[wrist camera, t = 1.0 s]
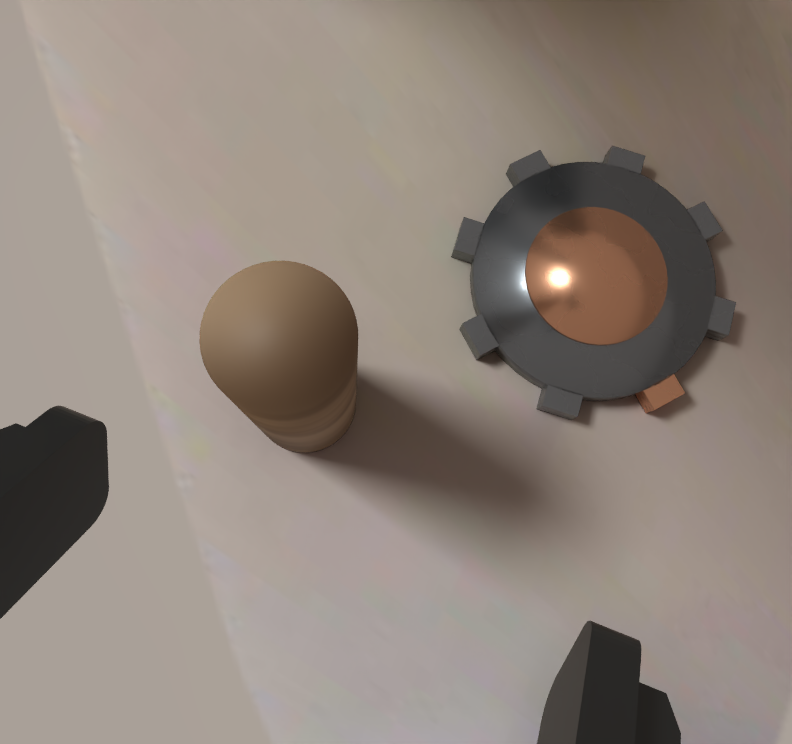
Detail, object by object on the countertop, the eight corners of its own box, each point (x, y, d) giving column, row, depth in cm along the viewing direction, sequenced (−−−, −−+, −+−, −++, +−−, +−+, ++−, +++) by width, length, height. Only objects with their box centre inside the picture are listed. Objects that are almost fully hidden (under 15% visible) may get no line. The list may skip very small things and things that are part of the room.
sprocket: (401, 223, 35) (402, 213, 33) (633, 112, 36) (643, 99, 35) (538, 472, 33) (545, 470, 32) (776, 341, 34) (791, 335, 33)
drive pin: (237, 380, 33) (173, 302, 21) (327, 335, 33) (314, 235, 22) (282, 470, 32) (241, 441, 20) (373, 423, 33) (385, 369, 21)
